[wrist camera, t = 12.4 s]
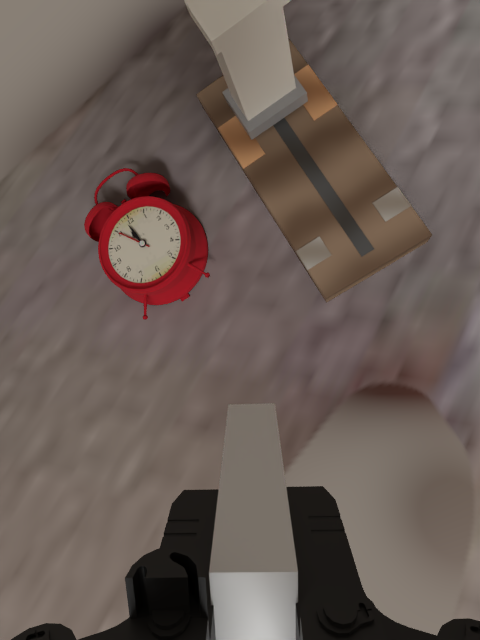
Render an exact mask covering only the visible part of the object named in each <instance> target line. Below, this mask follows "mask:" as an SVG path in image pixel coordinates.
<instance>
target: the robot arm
mask: <svg viewBox="0 0 480 640" xmlns="http://www.w3.org/2000/svg"><path fill="white" fill-rule="evenodd" d="M125 582H126V590H127V598H128V607H129V615H130V617H129V618H128V619H127V620H125V621H124V622H122V623H121V624H119V625H118V626H115V627H113V628H111V629H108V630H106V631H103V632H100V633H97V634H94V635H91V636H88V637H85V638H82V639H78V640H480V621H476V620H473V619H453V620H451V621H449V622H448V623H446V624H444V625H442V627H441V629H440V631H439V633H438V635H437V636H436V635H433V634H429V633H426V632H423V631H419V630H415V629H413V628H409V627H406V626H404V625H401V624H399V623H396V622H394V621H393V620H391V619H389V618H388V617H386V616H384V615H383V614H382V613H381V612H380V611H378V609H377V608H376V607H375V605H374V604H373V602H372V601H371V600H370V599H369V598H367V596H366V594H365V592H364V590H363V588H362V585H361V582H360V578H359V576H358V572H357V569H356V565H355V562H354V559H353V556H352V552H351V549H350V546H349V543H348V539H347V536H346V533H345V531H344V526H343V523H342V520H341V519H340V513H339V510H338V507H337V503H336V501H335V499H334V498H333V497H332V496H331V495H330V493H329V492H328V491H327V490H326V489H325V488H324V487H323V486H320V487H319V486H317V487H286V482H285V474H284V467H283V459H282V452H281V445H280V438H279V430H278V423H277V416H276V408H275V404H231V405H228V413H227V422H226V431H225V439H224V448H223V457H222V465H221V474H220V482H219V490H184V491H183V492H182V493H181V494H180V495H179V496H178V498H177V499H176V500H175V501H174V502H173V503H172V506H171V509H170V513H169V517H168V523H167V524H166V528H165V531H164V537H163V539H162V542H161V546H160V549H156V550H154V551H152V552H150V553H148V554H146V555H144V556H143V557H141V558H140V559H139V560H138V561H137V562H136V563H135V564H133V565H132V567H131V569H130V570H129V572H128V574H127V576H126V577H125ZM11 640H76V638H75V636H74V634H73V632H72V630H71V629H69V628H67V627H65V626H63V625H62V624H48V623H45V624H42V625H39V626H36V627H32V628H29V629H27V630H26V631H24V632H22V633H21V634H19V635H18V636H16V637H14V638H13V639H11Z"/></svg>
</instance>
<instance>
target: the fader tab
mask: <svg viewBox="0 0 480 640" xmlns="http://www.w3.org/2000/svg"><path fill="white" fill-rule="evenodd" d="M290 1H291V0H184V2H185V4H186V7H187V9H188V12H189V14H190V16H191V17H192V19H193V20H194V22H195V23H196V25H197V26H198V28H199V29H200V31H201V32H202V34H203V35H204V37H205V38H206V40H207V41H208V43H209V44H210V46H211V47H212V49H213V51H214V54H215V56H216V59H217V61H218V63H219V66H220V68H221V71H222V73H223V76H224V78H225V81H226V83H227V86H228V88H227V89H226V90H224V91H223V92H222V93H223V95H224V98H225V100H226V102H227V103H228V105H229V106H230V108H231V109H232V111H233V112H234V114H235V115H236V117H237V118H238V120H239V122H240V123H241V125H242V126H243V128H244V129H245V131H246V132H247V134H248V135H249V137H250V138H251V140H252V139H254V138H255V137H257V136H258V135H260V134H261V133H262V132H264V131H265V130H267V129H268V128H270V127H271V126H273V125H274V124H276V123H277V122H278V121H280V120H281V119H283V118H284V117H286V116H287V115H289V114H290V113H292V112H293V111H294V110H296V109H297V108H299V107H300V106H302V105H303V104H305V103H306V102H307V101H308V98H307V92H306V91H305V89H304V88H303V86H302V85H301V84H300V82H299V81H298V79H297V78H296V77H295V75H294V72H293V66H292V59H291V53H290V47H289V41H288V35H287V28H286V22H285V16H284V10H283V6H284V5H286V4H287V3H288V2H290Z"/></svg>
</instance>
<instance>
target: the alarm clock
mask: <svg viewBox="0 0 480 640" xmlns="http://www.w3.org/2000/svg"><path fill="white" fill-rule="evenodd" d="M123 171H130V172H132V173H134V174H135V175H136V176H135V177H133V178H132V179H130V180H129V181H128V184H127V188H126V189H127V195H128V197H129V198H130V199H131V200H129V201H126V200H125V199H124V200H122V201H121V203H122V205H120V206H119V207H118V206H117V205H115V204H113V203H111V202H102V203H99V204H98V201H97V194H98V191H99V189H100V188H101V186H102V185H103V184H104V183H105V182H106V181H107V180H108V179H110V178H111V177H112V176H114V175H115V174H117V173H119V172H123ZM158 190H160V191H164V192H165V194H166V196H168V195H169V193H170V186H169V183H168V181H167V180H166V179H165V178H164V177H163V176H162V175H159V174H157V173H143V174H138V173H136V172H135V171H134V170H132V169H128V168H123V169H120V170H117V171H115V172H113V173H112V174H110V175H109V176H108V177H106V178H105V179H104V180H103V181H102V182H101V183H100V184H99V186H98V187H97V189H96V191H95V197H94V199H95V203H96V206H94V207H93V208H92V209H91V211H90V212H89V213H88V215H87V217H86V220H85V224H84V225H85V231H86V233H87V234H88V235H89V237H90V238H92V239H93V240H95V241H98V242H99V245H98V253H99V259H100V263H101V266H102V268H103V270H104V272H105V274H106V275H107V276H108V278H109V279H110V280H111V281H112V282H113V283H114V284H115V285H116V286H118V287H119V288H121V290H122V291H123V292H124V293H125V294H126V295H128V296H129V297H130V298H132V299H134V300H136V301H138V302H141V303H144V316H143V319H147V318H148V316H147V315H146V309H147V304H149V305H163V304H168V303H171V302H174V301H176V300H178V299H181V301H184V300H185V299H187V298H188V297H189V294H188V292H189V291H191V290H192V288H193V287H194V286H195V285H196V284H197V282H198V281H199V279H200V278H201V276H202V274H204V275H205V277H207V278H208V277H209V276H210V274H209V273H205V272H204V269H205V266H206V263H207V257H208V243H207V238H206V234H205V232H204V229H203V227H202V225H201V224H200V222H199V221H198V220H197V219H196V217H195V216H194V215H193V214H192V213H190V212H189V211H188V210H186V209H184V208H183V207H180V206H178V205H175V204H172V203H171V202H169V201H167V200H164V199H161V198H157V197H150V196H149V195H150V194H151V193H153V192H155V191H158Z"/></svg>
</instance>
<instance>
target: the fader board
mask: <svg viewBox="0 0 480 640" xmlns="http://www.w3.org/2000/svg"><path fill="white" fill-rule="evenodd" d="M288 41H289V47H290V53H291V59H292V66H293V72H294V75H295V77H296V78H297V79H298V81H299V82H300V84H301V85H302V86H303V88H304V89H305V91H306V92H307V98H308V101H307V102H306V103H305V104H303V105H302V106H300V107H299V108H297V109H296V110H294V111H293V112H292V113H290V114H289V115H287V116H286V117H284V118H283V119H281V120H280V121H278V122H277V123H276V124H274V125H273V126H271V127H270V128H268V129H267V130H265V131H264V132H262V133H261V134H260V135H258V136H257V137H255V138H254V139H252V140H251V138H250V137H249V135H248V134H247V132H246V131H245V129H244V128H243V126H242V125H241V123H240V122H239V120H238V118H237V117H236V115H235V114H234V112H233V111H232V109H231V108H230V106H229V105H228V103H227V102H226V100H225V98H224V95H223V93H222V92H223V91H224V90H226V89H227V88H228V86H227V83H226V81H225V78H224V76H221V77H220V78H218V79H217V80H216V81H214V82H213V83H212V84H210V85H209V86H207V87H206V88H205V89H203V90H202V91H201V92H199V93H198V94H196V95H197V97H198V99H199V101H200V103H201V104H202V106H203V108H204V110H205V111H206V113H207V114H208V116H209V118H210V119H211V121H212V122H213V124H214V125H215V127H216V129H217V130H218V132H219V133H220V135H221V137H222V138H223V140H224V141H225V143H226V144H227V146H228V148H229V149H230V151H231V152H232V154H233V155H234V157H235V159H236V160H237V162H238V163H239V165H240V167H241V168H242V170H243V171H244V173H245V174H246V176H247V178H248V179H249V181H250V182H251V184H252V186H253V187H254V189H255V190H256V192H257V193H258V195H259V197H260V198H261V200H262V201H263V203H264V204H265V206H266V208H267V209H268V211H269V212H270V214H271V216H272V217H273V219H274V220H275V222H276V223H277V225H278V227H279V228H280V230H281V231H282V233H283V235H284V236H285V238H286V239H287V241H288V242H289V244H290V246H291V247H292V249H293V250H294V252H295V253H296V255H297V257H298V258H299V260H300V261H301V263H302V265H303V266H304V268H305V269H306V271H307V272H308V274H309V276H310V277H311V279H312V280H313V282H314V284H315V285H316V287H317V288H318V290H319V291H320V293H321V295H322V296H323V298H324V299H325V301H326V303H327V302H328V301H330V300H332V299H333V298H335V297H337V296H338V295H340V294H342V293H343V292H345V291H347V290H348V289H350V288H352V287H353V286H355V285H357V284H358V283H360V282H362V281H363V280H365V279H367V278H368V277H370V276H372V275H373V274H375V273H376V272H378V271H380V270H381V269H383V268H385V267H386V266H388V265H390V264H391V263H393V262H395V261H396V260H398V259H400V258H401V257H403V256H405V255H406V254H408V253H410V252H411V251H413V250H415V249H416V248H418V247H420V246H421V245H423V244H425V243H426V242H428V240H429V239H430V237H431V236H432V234H431V233H430V231H429V230H428V228H427V227H426V226H425V224H424V223H423V222H422V220H421V219H420V217H419V216H418V215H417V213H416V212H415V211H414V209H413V208H412V207H411V204H410V203H409V202H408V200H407V199H406V198H405V196H404V195H403V193H402V192H401V191H400V189H399V188H398V187H397V186H396V185H395V183H394V182H393V180H392V179H391V178H390V176H389V175H388V174H387V172H386V171H385V170H384V168H383V167H382V165H381V164H380V163H379V161H378V160H377V159H376V157H375V156H374V154H373V153H372V152H371V150H370V149H369V148H368V146H367V145H366V143H365V142H364V141H363V139H362V138H361V137H360V135H359V134H358V133H357V131H356V130H355V128H354V127H353V126H352V124H351V123H350V122H349V120H348V119H347V117H346V116H345V115H344V113H343V112H342V111H341V109H340V108H339V106H338V105H337V103H336V102H335V100H334V99H333V98H332V96H331V95H330V93H329V92H328V91H327V89H326V88H325V87H324V85H323V84H322V83H321V81H320V80H319V78H318V77H317V76H316V74H315V73H314V72H313V70H312V69H311V67H310V66H309V65H308V64H307V63H306V61H305V60H304V59H303V57H302V56H301V54H300V53H299V52H298V50H297V49H296V48H295V46H294V45H293V43H292V42H291V41H290V39H289V38H288Z"/></svg>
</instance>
